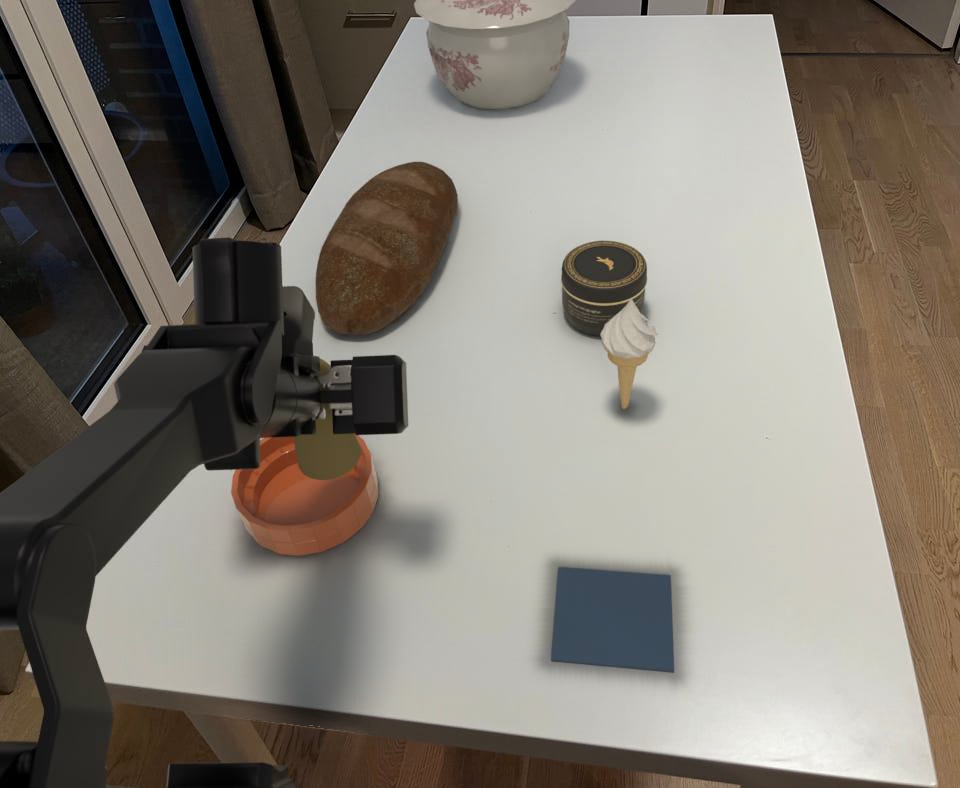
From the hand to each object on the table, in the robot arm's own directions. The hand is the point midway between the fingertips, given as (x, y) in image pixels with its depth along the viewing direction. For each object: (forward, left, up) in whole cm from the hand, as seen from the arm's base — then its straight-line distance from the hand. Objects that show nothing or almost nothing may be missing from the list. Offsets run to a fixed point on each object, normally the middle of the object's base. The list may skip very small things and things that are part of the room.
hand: (317, 399), depth 72 cm
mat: (-2, -29, -13) cm, 32 cm away
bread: (+37, +18, -13) cm, 43 cm away
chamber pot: (+88, +27, -13) cm, 93 cm away
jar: (+36, -13, -13) cm, 41 cm away
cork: (-1, -1, -6) cm, 6 cm away
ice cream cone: (+22, -21, -13) cm, 34 cm away
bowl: (-3, +2, -13) cm, 14 cm away
